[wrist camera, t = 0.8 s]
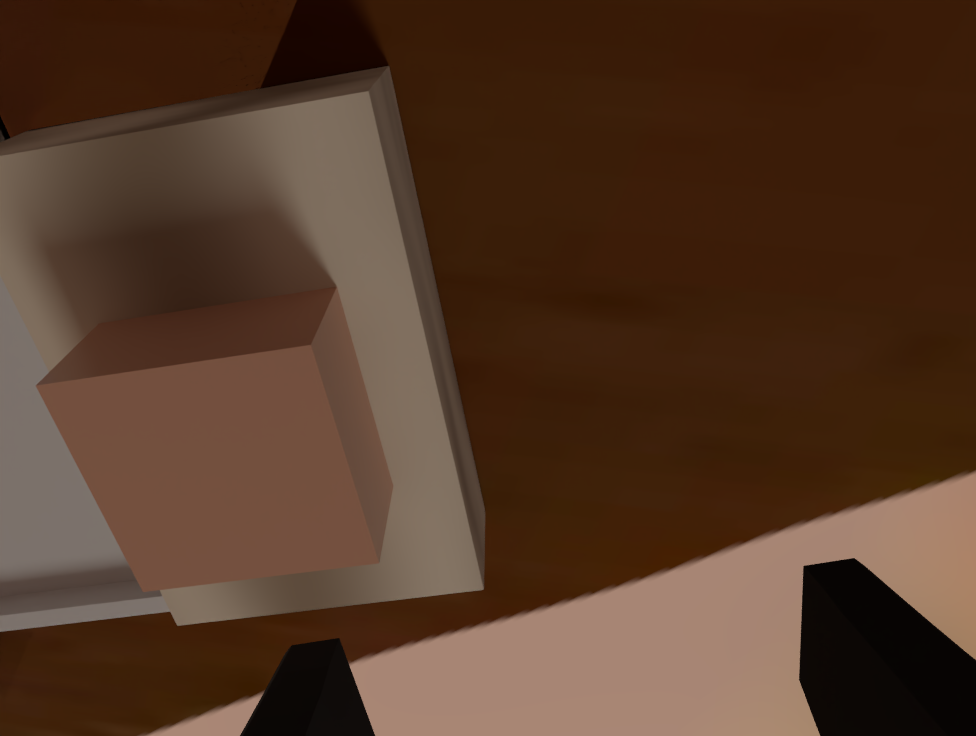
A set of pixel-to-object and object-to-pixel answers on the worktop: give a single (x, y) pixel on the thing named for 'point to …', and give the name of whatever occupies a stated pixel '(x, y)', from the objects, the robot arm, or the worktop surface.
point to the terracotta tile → (227, 440)
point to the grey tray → (50, 507)
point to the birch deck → (263, 287)
